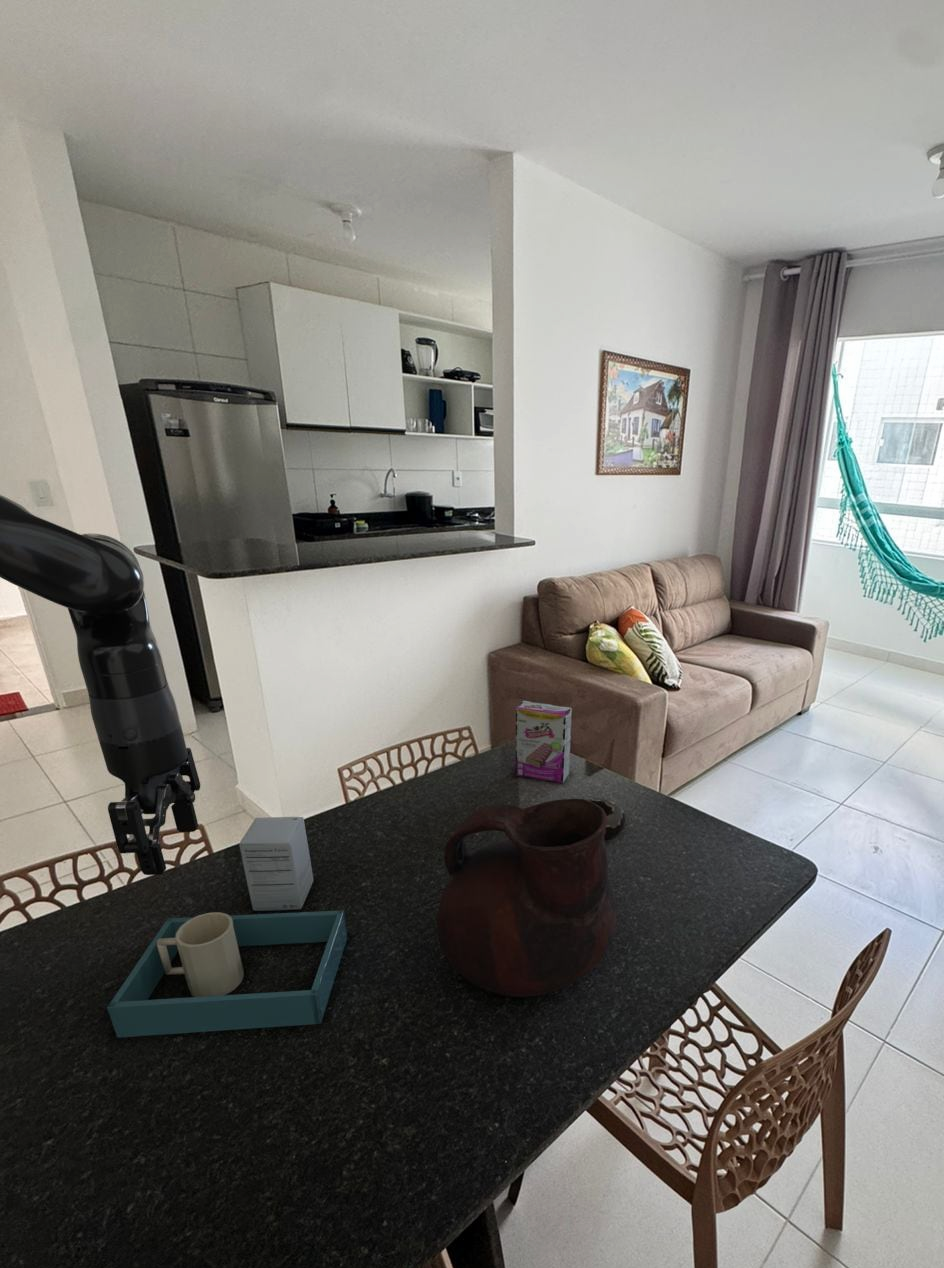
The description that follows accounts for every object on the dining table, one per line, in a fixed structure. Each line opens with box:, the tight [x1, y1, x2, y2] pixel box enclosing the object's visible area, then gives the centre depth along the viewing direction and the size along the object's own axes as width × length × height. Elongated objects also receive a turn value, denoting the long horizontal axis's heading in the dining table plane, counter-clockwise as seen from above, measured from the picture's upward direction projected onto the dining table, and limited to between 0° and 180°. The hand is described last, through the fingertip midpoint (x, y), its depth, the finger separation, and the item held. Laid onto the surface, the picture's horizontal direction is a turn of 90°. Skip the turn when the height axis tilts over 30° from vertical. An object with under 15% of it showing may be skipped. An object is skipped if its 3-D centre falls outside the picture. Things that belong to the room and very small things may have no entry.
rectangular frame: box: [106, 909, 348, 1039], centre depth 88 cm, size 24×16×5 cm, turn 97°
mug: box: [156, 911, 245, 997], centre depth 87 cm, size 9×6×9 cm
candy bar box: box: [515, 700, 573, 784], centre depth 142 cm, size 11×5×16 cm, turn 77°
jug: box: [436, 798, 618, 998], centre depth 91 cm, size 25×25×25 cm
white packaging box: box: [238, 816, 314, 912], centre depth 103 cm, size 7×7×13 cm
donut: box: [583, 797, 627, 841], centre depth 127 cm, size 12×12×4 cm
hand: (172, 850), depth 78 cm, fingers open, 8 cm apart
